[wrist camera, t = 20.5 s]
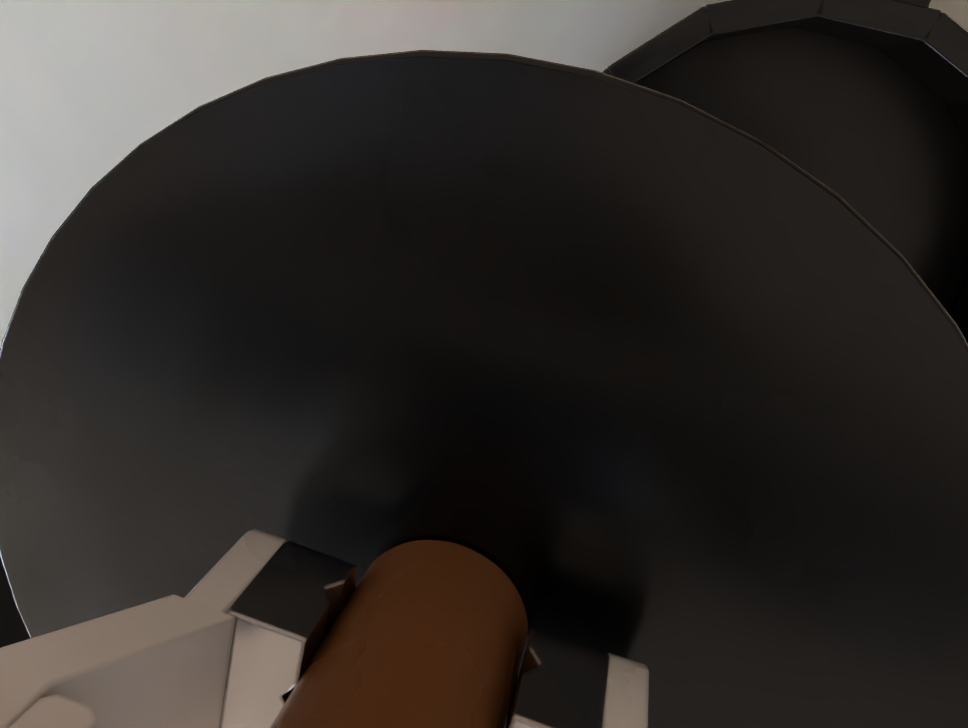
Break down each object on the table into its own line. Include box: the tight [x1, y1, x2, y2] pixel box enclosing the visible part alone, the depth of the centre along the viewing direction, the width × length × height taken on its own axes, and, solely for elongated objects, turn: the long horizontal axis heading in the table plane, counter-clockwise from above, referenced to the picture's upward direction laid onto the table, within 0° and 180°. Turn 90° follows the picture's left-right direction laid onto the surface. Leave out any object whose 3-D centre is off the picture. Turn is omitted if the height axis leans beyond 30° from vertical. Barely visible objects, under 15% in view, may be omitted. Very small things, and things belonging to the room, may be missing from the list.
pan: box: [603, 0, 968, 343], centre depth 23 cm, size 13×19×4 cm
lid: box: [0, 50, 968, 728], centre depth 10 cm, size 14×14×5 cm
